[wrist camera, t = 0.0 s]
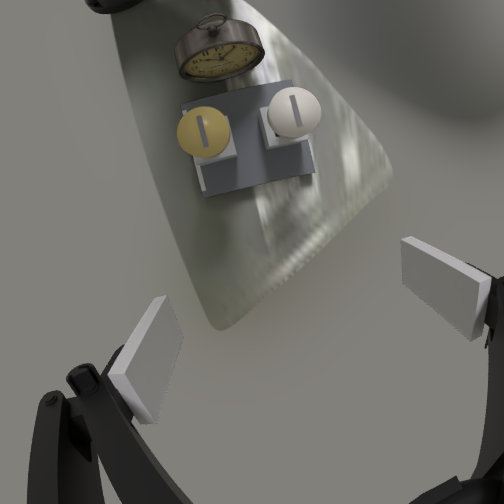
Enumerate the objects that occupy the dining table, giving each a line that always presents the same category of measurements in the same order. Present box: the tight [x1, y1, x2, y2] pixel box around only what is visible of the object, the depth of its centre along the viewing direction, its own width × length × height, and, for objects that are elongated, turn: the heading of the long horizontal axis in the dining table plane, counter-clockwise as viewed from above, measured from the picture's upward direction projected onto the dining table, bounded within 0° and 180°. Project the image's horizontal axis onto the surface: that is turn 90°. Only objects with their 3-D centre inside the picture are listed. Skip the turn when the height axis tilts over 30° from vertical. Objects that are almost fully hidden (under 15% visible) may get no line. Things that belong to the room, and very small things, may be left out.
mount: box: [180, 80, 315, 198], centre depth 35 cm, size 14×16×7 cm
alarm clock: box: [175, 13, 265, 83], centre depth 27 cm, size 11×5×16 cm, turn 105°
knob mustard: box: [177, 107, 231, 158], centre depth 28 cm, size 5×5×8 cm
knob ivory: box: [267, 87, 321, 139], centre depth 28 cm, size 5×5×8 cm
